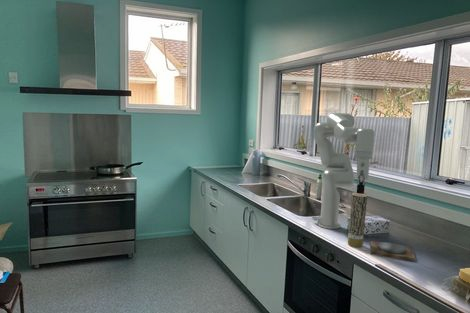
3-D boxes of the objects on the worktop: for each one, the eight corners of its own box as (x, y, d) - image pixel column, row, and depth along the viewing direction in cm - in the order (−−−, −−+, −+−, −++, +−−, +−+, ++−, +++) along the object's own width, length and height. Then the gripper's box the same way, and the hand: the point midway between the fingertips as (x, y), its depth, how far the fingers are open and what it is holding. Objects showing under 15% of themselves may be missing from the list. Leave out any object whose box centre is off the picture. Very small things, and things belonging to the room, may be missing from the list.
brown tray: (370, 254, 162) (371, 248, 162) (370, 243, 176) (370, 238, 176) (414, 261, 156) (415, 256, 156) (411, 250, 170) (411, 245, 170)
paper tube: (350, 241, 178) (355, 191, 175) (364, 245, 174) (369, 194, 171) (345, 245, 173) (349, 193, 170) (359, 249, 168) (364, 196, 165)
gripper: (372, 157, 159) (369, 195, 160) (372, 154, 175) (369, 189, 176) (354, 156, 161) (351, 193, 163) (355, 153, 177) (352, 187, 179)
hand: (360, 191), depth 170 cm, fingers open, 9 cm apart
